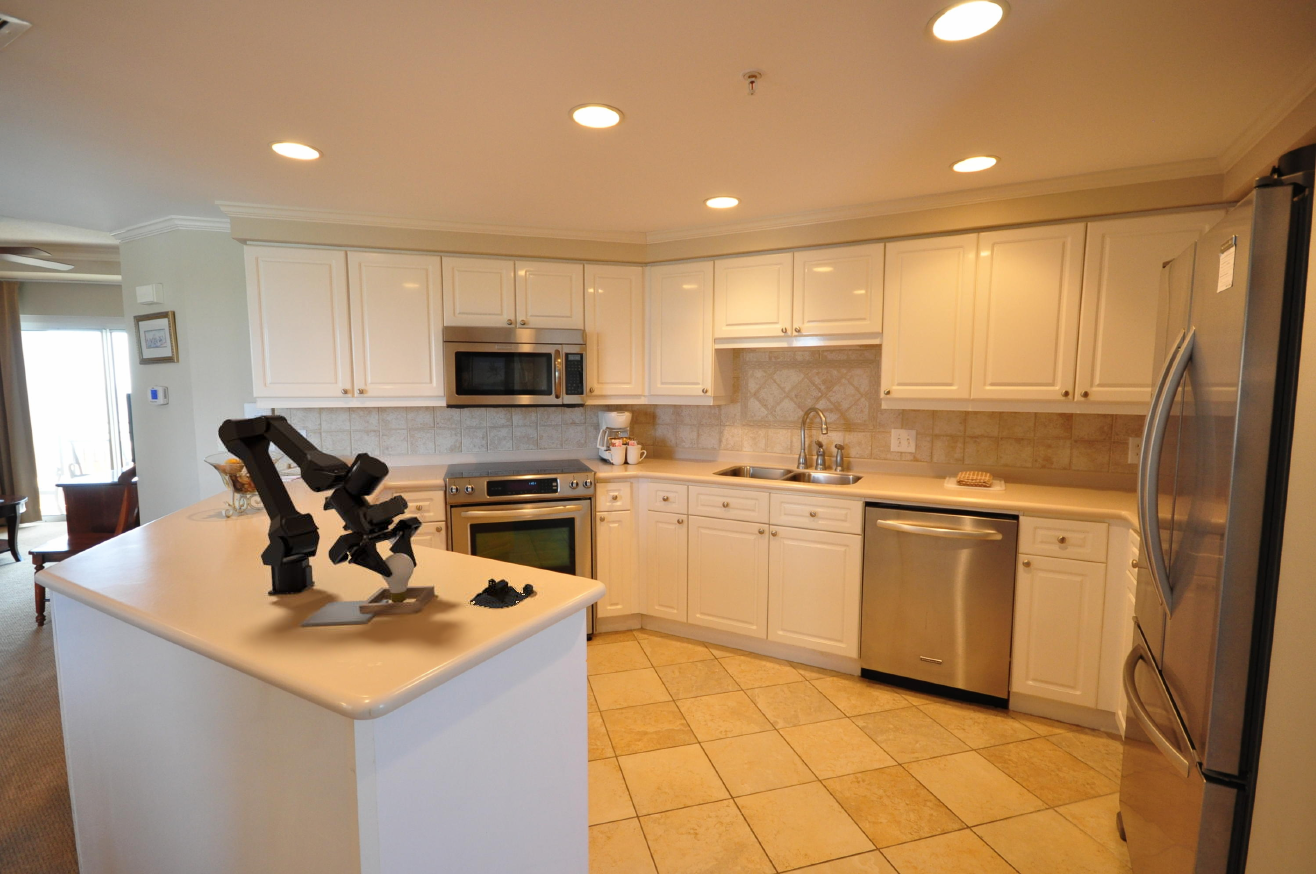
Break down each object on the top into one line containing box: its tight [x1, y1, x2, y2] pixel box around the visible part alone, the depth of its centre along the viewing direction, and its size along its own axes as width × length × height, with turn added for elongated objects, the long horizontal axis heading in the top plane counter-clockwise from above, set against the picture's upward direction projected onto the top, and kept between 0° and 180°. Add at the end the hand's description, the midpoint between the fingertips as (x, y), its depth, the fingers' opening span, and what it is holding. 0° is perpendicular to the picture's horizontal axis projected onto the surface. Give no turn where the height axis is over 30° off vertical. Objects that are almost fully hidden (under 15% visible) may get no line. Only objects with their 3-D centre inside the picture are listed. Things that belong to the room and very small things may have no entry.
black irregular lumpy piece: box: [469, 578, 534, 609], centre depth 118 cm, size 12×10×5 cm
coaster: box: [300, 599, 390, 627], centre depth 111 cm, size 11×11×1 cm
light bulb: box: [381, 553, 415, 603], centre depth 115 cm, size 6×6×10 cm
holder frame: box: [359, 584, 436, 616], centre depth 115 cm, size 10×10×2 cm
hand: (403, 571), depth 114 cm, fingers closed on light bulb, 6 cm apart
